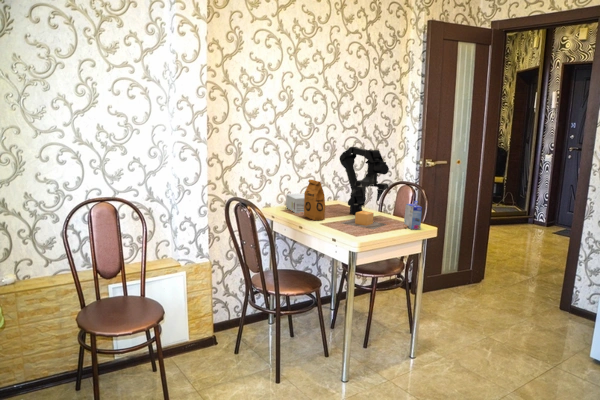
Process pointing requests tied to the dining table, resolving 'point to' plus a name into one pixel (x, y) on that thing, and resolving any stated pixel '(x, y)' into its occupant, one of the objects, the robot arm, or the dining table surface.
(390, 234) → the dining table surface
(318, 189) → the coffee package
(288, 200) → the supplement box
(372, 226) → the board
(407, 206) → the ink cartridge box
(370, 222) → the tan orange cube
